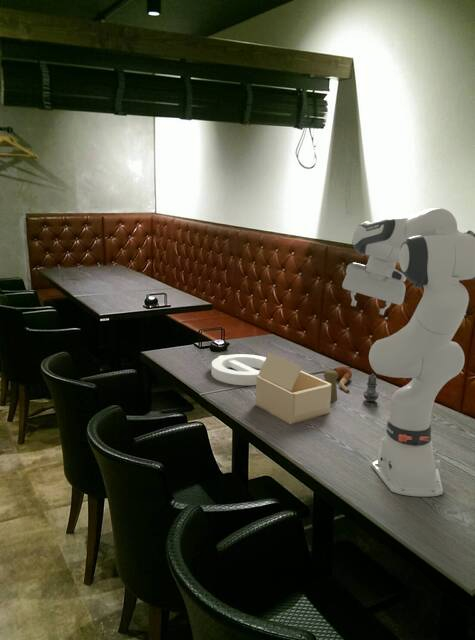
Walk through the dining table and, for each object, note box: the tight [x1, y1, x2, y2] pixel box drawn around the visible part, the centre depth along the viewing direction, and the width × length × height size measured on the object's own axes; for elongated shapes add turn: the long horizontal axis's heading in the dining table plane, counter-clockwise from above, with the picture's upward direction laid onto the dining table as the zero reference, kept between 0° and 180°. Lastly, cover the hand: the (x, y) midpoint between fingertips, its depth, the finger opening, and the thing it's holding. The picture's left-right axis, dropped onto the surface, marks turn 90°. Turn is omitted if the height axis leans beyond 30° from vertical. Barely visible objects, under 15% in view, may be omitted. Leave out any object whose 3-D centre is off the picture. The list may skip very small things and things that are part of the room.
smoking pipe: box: [333, 366, 353, 393], centre depth 230 cm, size 7×18×6 cm, turn 3°
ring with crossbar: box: [211, 353, 267, 386], centre depth 240 cm, size 28×28×5 cm
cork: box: [323, 369, 338, 402], centre depth 214 cm, size 6×6×11 cm
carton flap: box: [258, 352, 303, 391], centre depth 197 cm, size 1×18×9 cm, turn 35°
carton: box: [255, 370, 332, 425], centre depth 203 cm, size 19×21×11 cm
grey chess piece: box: [362, 372, 380, 406], centre depth 211 cm, size 6×6×12 cm
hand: (367, 310), depth 185 cm, fingers open, 8 cm apart
